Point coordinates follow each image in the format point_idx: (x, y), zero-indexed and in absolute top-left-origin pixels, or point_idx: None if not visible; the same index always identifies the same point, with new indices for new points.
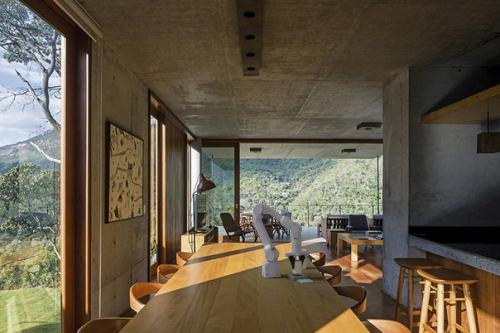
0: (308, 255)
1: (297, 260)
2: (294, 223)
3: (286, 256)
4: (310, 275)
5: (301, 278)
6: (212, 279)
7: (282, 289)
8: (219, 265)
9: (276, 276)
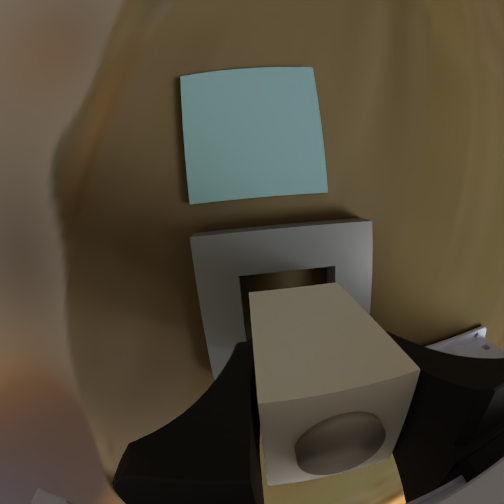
0: (42, 492)
1: (352, 422)
2: None
3: None
4: (131, 364)
5: (266, 226)
6: None
7: (456, 18)
8: None
9: (433, 346)
